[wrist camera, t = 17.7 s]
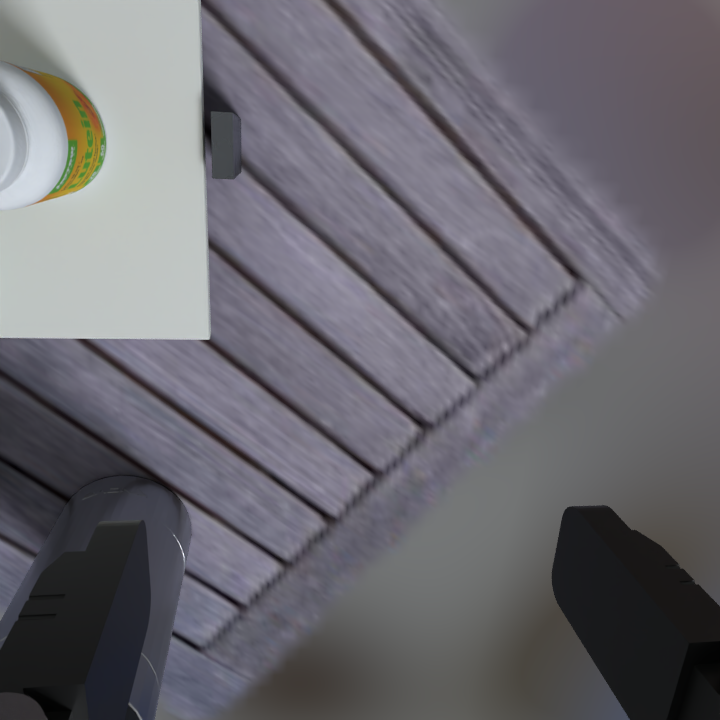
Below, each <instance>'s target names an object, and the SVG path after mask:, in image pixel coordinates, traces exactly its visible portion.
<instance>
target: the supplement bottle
mask: <svg viewBox="0 0 720 720" xmlns="http://www.w3.org/2000/svg"><path fill="white" fill-rule="evenodd" d="M107 147H108V141H107V133H106V128H105V125H104V122H103V119H102V117H101V115H100V113H99V111H98V109H97V108H96V106H95V105H94V103H93V102H92V101H91V100H90V99H89V97H88V96H87V95H86V94H85V93H84V92H83V91H81V90H80V89H79V88H78V87H76V86H75V85H73V84H71V83H70V82H68V81H66V80H64V79H62V78H59V77H56V76H54V75H51V74H47V73H44V72H40V71H36V70H33V69H29V68H25V67H22V66H18V65H15V64H11V63H8V62H5V61H1V60H0V210H12V209H19V208H23V207H27V206H30V205H33V204H37V203H40V202H44V201H47V200H51V199H54V198H58V197H62V196H65V195H69V194H72V193H74V192H77V191H79V190H81V189H83V188H84V187H86V186H87V185H89V184H90V183H91V182H92V181H93V180H94V179H95V178H96V177H97V175H98V174H99V173H100V171H101V169H102V167H103V165H104V162H105V159H106V155H107Z"/></svg>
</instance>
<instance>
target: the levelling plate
mask: <svg viewBox="0 0 720 720" xmlns="http://www.w3.org/2000/svg"><path fill="white" fill-rule="evenodd" d="M0 60H1V61H5V62H8V63H11V64H15V65H18V66H22V67H25V68H29V69H33V70H36V71H40V72H44V73H47V74H51V75H54V76H56V77H59V78H62V79H64V80H66V81H68V82H70V83H71V84H73V85H75V86H76V87H78V88H79V89H80V90H81V91H83V92H84V93H85V94H86V95H87V96H88V97H89V99H90V100H91V101H92V102H93V103H94V105H95V106H96V108H97V109H98V111H99V113H100V115H101V117H102V119H103V122H104V125H105V128H106V133H107V141H108V147H107V155H106V159H105V162H104V165H103V167H102V169H101V171H100V173H99V174H98V175H97V177H96V178H95V179H94V180H93V181H92V182H91V183H90V184H89V185H87V186H86V187H84V188H83V189H81V190H79V191H77V192H74V193H72V194H69V195H65V196H62V197H58V198H54V199H51V200H47V201H44V202H40V203H37V204H33V205H30V206H27V207H23V208H19V209H12V210H0V338H85V339H200V340H209V338H210V335H211V323H210V290H209V258H208V225H207V193H206V160H205V128H204V95H203V63H202V31H201V0H0Z"/></svg>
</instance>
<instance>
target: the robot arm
mask: <svg viewBox="0 0 720 720" xmlns="http://www.w3.org/2000/svg"><path fill="white" fill-rule="evenodd" d="M191 535H192V534H191V522H190V518H189V515H188V512H187V510H186V509H185V507H184V505H183V503H182V502H181V501H180V500H179V499H178V498H177V497H176V496H175V495H174V493H172V492H171V491H169V490H168V489H167V488H165V487H164V486H162V485H160V484H158V483H155V482H153V481H151V480H148V479H144V478H140V477H133V476H115V477H107V478H104V479H101V480H97V481H94V482H92V483H90V484H89V485H87V486H85V487H83V488H82V489H80V490H79V491H78V492H77V493H76V494H75V495H73V496H72V498H71V499H70V500H69V502H68V503H67V504H66V506H65V507H64V509H63V511H62V513H61V515H60V516H59V518H58V520H57V522H56V523H55V525H54V527H53V529H52V530H51V532H50V534H49V536H48V537H47V539H46V541H45V542H44V544H43V546H42V548H41V549H40V551H39V553H38V555H37V557H36V558H35V560H34V562H33V564H32V565H31V567H30V569H29V571H28V573H27V574H26V576H25V578H24V580H23V581H22V583H21V585H20V587H19V589H18V590H17V592H16V594H15V596H14V598H13V599H12V601H11V603H10V605H9V606H8V608H7V610H6V612H5V614H4V615H3V617H2V619H1V621H0V720H155V716H156V711H157V706H158V699H159V694H160V689H161V684H162V680H163V675H164V670H165V665H166V660H167V655H168V650H169V645H170V640H171V635H172V630H173V625H174V620H175V615H176V610H177V605H178V600H179V595H180V590H181V585H182V580H183V576H184V571H185V566H186V561H187V556H188V551H189V545H190V540H191ZM552 586H553V591H554V595H555V598H556V600H557V603H558V605H559V607H560V608H561V610H562V611H563V613H564V615H565V616H566V618H567V619H568V621H569V623H570V624H571V626H572V627H573V629H574V631H575V632H576V634H577V636H578V637H579V639H580V640H581V642H582V644H583V645H584V647H585V648H586V650H587V652H588V653H589V655H590V656H591V658H592V659H593V661H594V663H595V664H596V666H597V668H598V669H599V671H600V672H601V674H602V676H603V677H604V679H605V680H606V682H607V684H608V685H609V687H610V688H611V690H612V692H613V693H614V695H615V696H616V698H617V700H618V701H619V703H620V704H621V706H622V708H623V709H624V711H625V712H626V714H627V715H628V717H629V718H630V720H720V606H719V605H718V604H717V603H716V602H715V601H714V600H713V599H712V598H711V597H710V596H709V595H708V594H707V593H706V592H705V591H704V590H703V589H702V588H701V587H700V586H699V585H696V584H695V582H694V579H693V578H692V577H691V576H690V575H689V574H688V573H687V572H686V571H685V570H684V569H680V567H679V564H678V563H677V562H676V561H675V560H674V559H673V558H672V557H671V556H670V555H669V554H668V553H667V551H665V549H664V548H663V547H662V546H660V545H659V544H657V543H656V542H654V541H652V540H651V539H649V538H647V537H646V536H644V535H642V534H641V533H640V532H638V531H636V530H631V529H630V528H629V527H628V526H627V525H626V524H625V523H624V522H623V521H622V520H621V518H619V516H618V515H617V514H616V513H615V512H614V511H613V510H612V509H611V508H610V507H608V506H605V505H602V506H572V507H568V508H567V509H566V510H565V511H564V514H563V517H562V521H561V527H560V532H559V537H558V543H557V548H556V553H555V558H554V563H553V569H552Z"/></svg>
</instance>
